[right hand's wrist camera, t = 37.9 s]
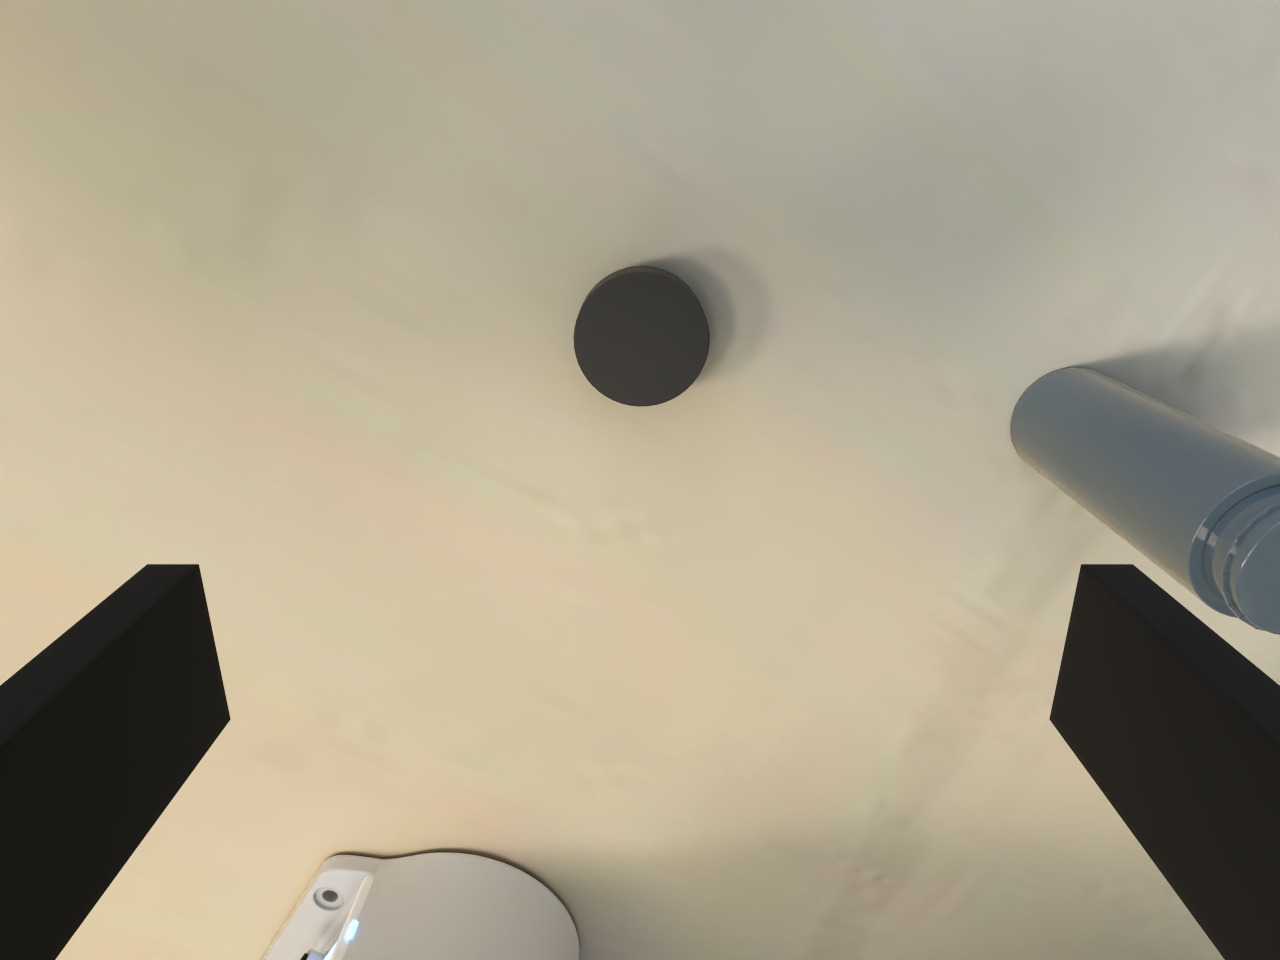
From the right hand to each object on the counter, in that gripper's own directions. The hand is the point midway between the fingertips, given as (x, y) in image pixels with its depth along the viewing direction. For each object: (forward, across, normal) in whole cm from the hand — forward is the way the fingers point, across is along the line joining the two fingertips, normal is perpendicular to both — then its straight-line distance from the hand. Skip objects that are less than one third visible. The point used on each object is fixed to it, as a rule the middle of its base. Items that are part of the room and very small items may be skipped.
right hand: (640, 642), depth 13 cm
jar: (+26, +19, -4) cm, 33 cm away
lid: (+24, 0, 0) cm, 24 cm away
